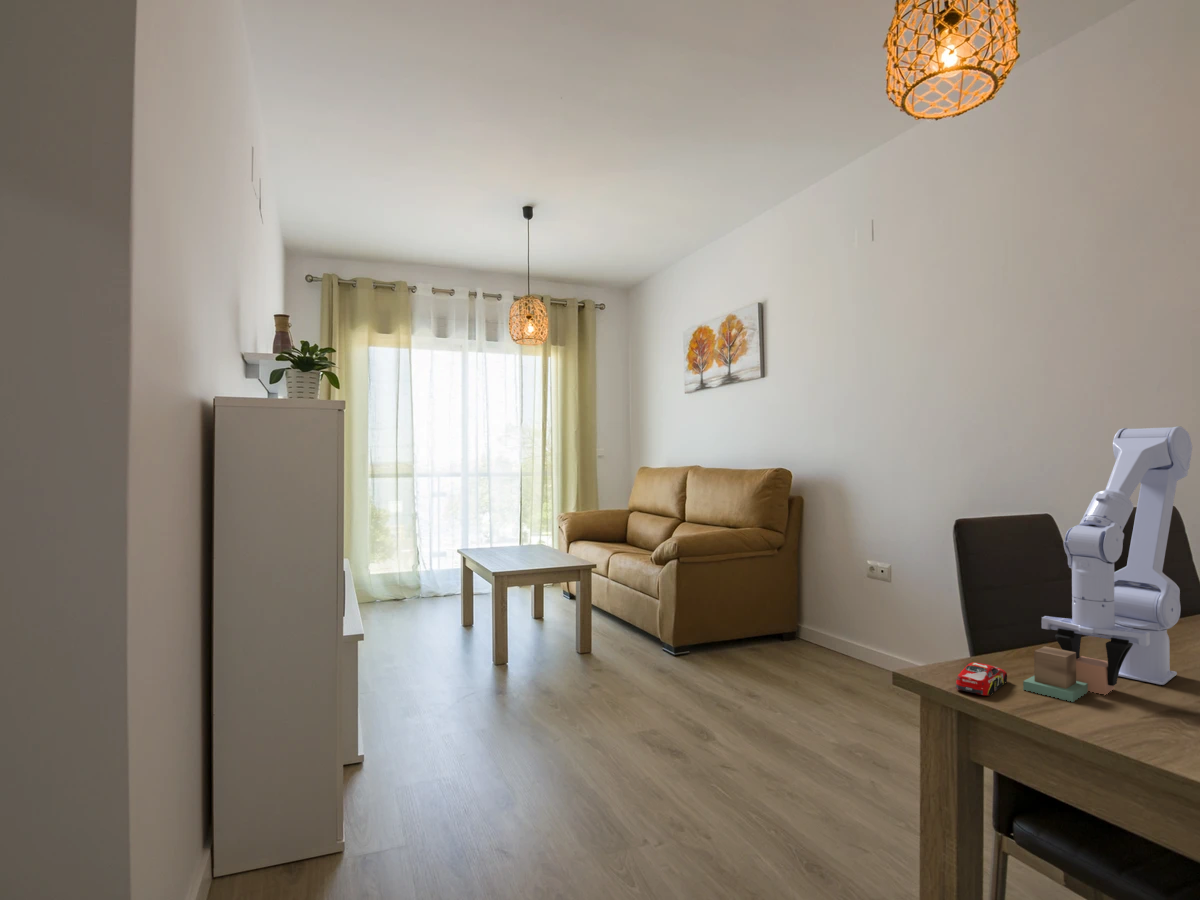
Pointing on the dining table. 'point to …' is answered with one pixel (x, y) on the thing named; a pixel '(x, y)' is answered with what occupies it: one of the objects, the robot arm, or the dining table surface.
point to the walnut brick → (1055, 667)
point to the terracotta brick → (1093, 674)
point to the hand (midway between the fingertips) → (1093, 680)
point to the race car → (980, 678)
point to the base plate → (1056, 689)
